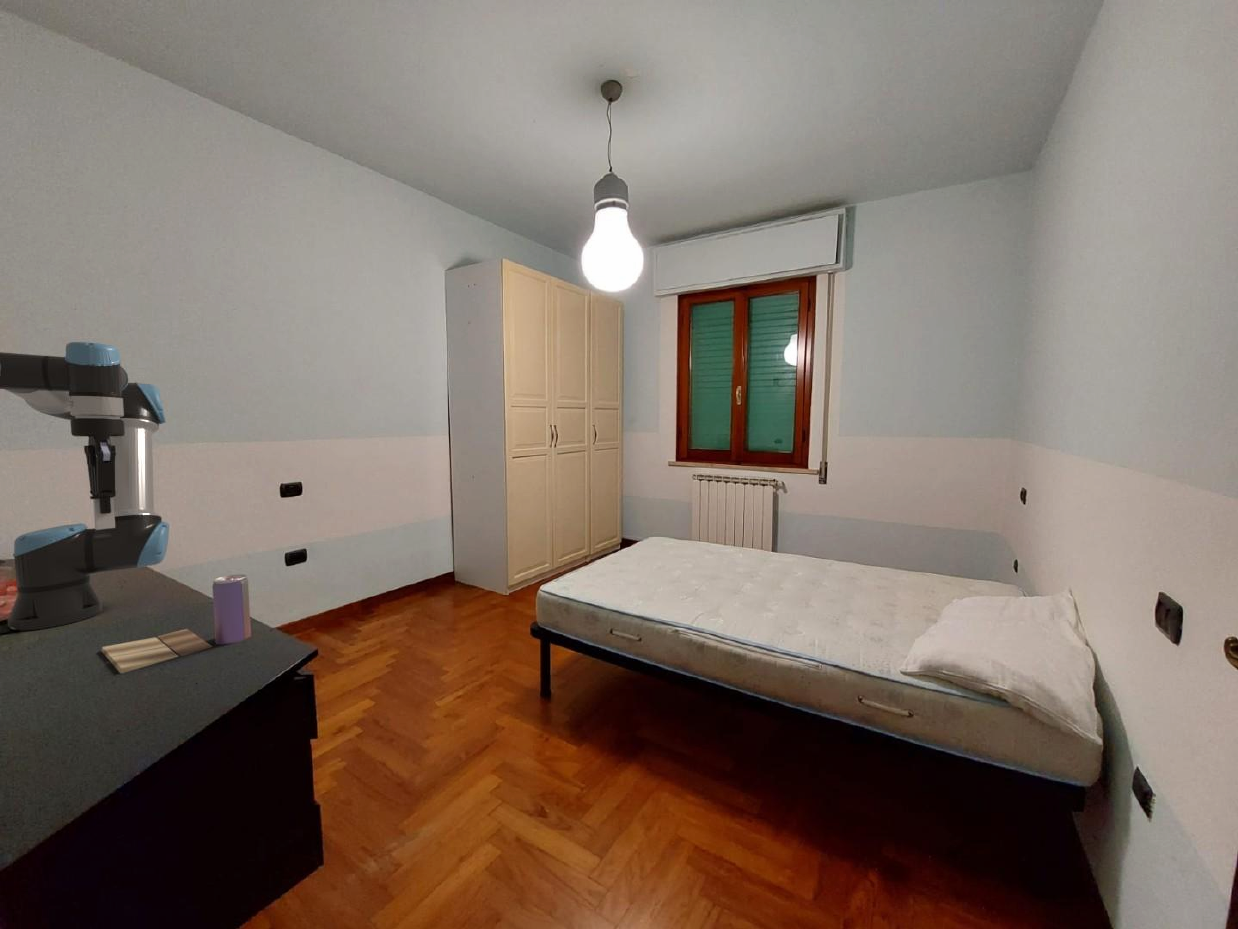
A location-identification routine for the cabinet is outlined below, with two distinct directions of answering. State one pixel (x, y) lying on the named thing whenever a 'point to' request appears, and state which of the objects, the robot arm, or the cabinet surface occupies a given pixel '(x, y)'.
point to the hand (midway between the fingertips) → (105, 528)
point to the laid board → (184, 642)
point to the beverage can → (231, 609)
